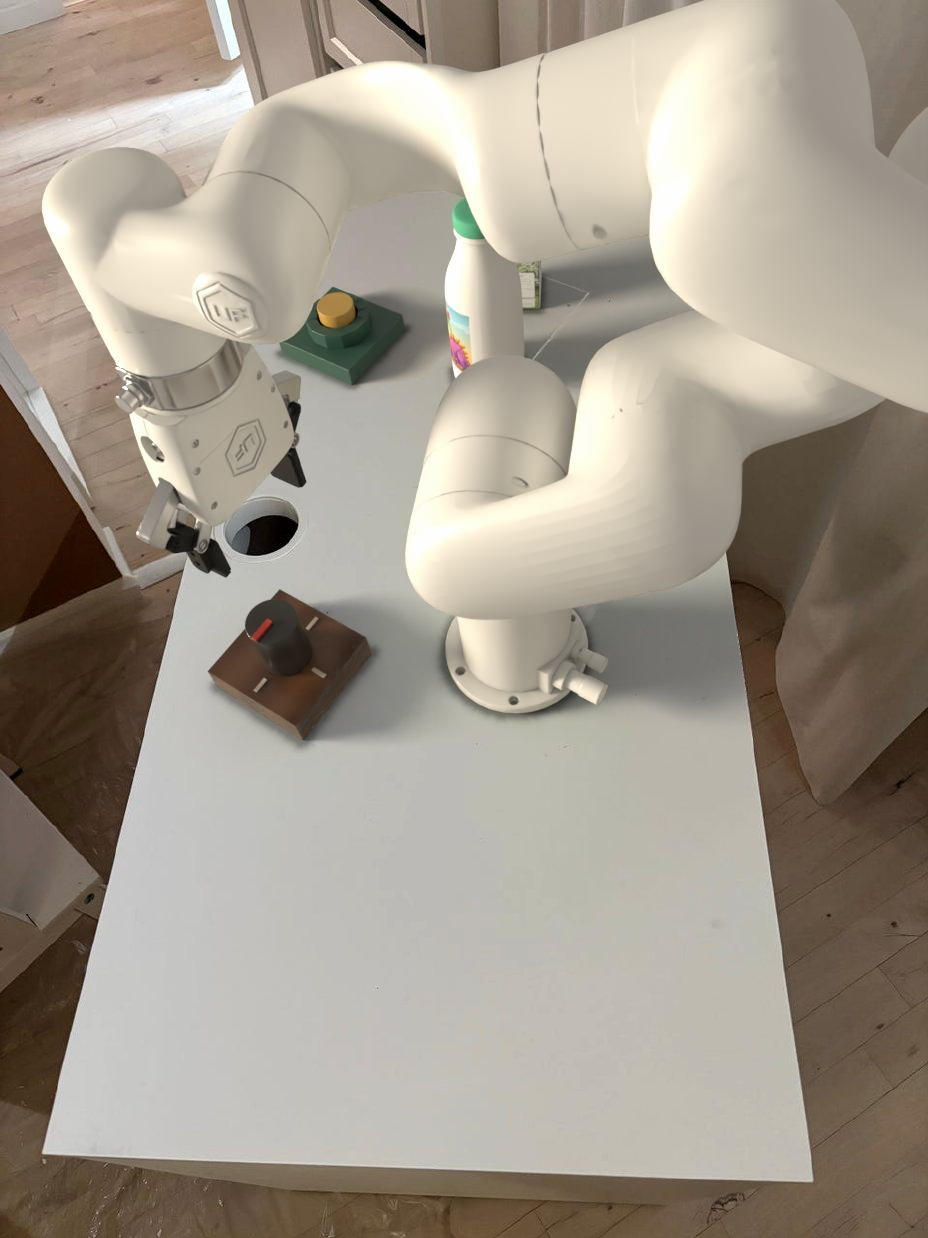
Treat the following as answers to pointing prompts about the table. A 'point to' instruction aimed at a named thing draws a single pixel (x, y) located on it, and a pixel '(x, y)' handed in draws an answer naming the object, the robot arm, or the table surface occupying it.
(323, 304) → the yellow button cap
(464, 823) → the table surface
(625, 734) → the table surface
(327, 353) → the button base
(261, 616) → the dial
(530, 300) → the syrup box
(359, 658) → the dial base
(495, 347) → the milk bottle
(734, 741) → the table surface
